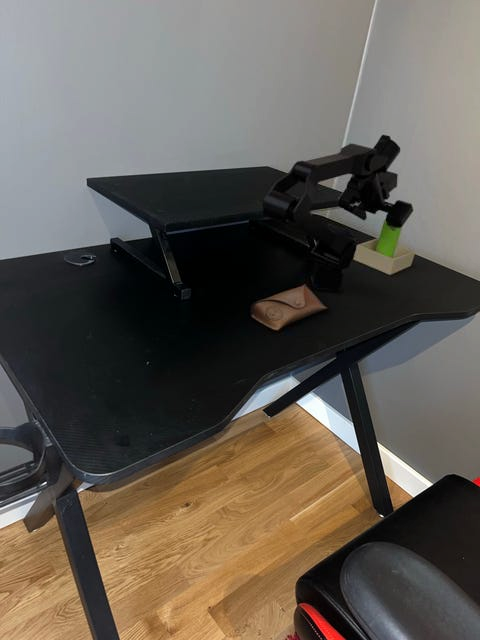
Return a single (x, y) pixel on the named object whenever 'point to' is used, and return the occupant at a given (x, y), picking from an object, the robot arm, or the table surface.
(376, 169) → the robot arm
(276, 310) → the sunglasses case
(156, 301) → the table surface
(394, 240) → the drink can
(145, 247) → the table surface
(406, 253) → the tote
